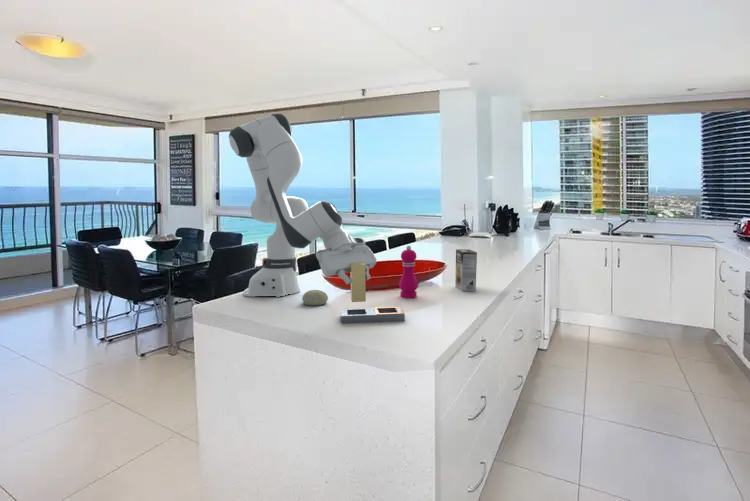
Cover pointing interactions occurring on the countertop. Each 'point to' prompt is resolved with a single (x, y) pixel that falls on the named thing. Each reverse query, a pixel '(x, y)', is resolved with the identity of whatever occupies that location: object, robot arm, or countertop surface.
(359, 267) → the brass block
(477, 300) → the countertop surface
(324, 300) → the sea urchin shell
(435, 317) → the countertop surface
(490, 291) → the countertop surface
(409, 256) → the pepper mill
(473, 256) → the coffee box
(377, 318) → the grey slotted board
